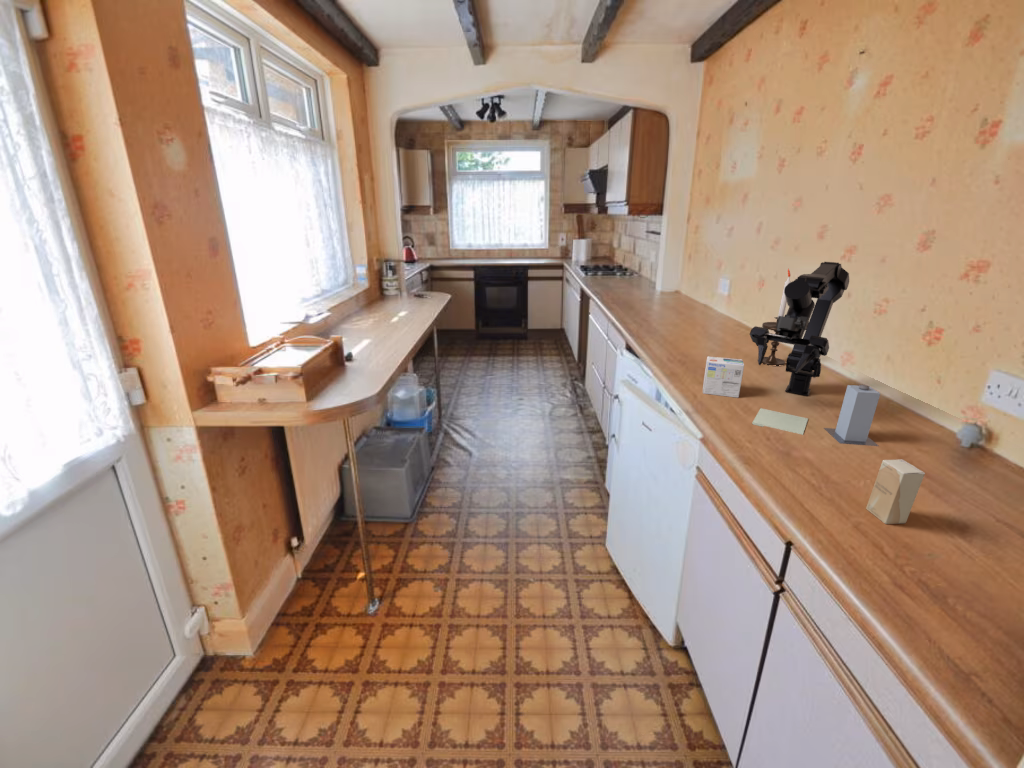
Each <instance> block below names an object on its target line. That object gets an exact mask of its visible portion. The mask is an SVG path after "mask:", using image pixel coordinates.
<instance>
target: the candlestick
mask: <svg viewBox="0 0 1024 768" xmlns="http://www.w3.org/2000/svg"><path fill="white" fill-rule="evenodd" d="M790 279H791V272H790V269H789V268H788V269H787V279H786V281H784V286H783V290H782V296H781V300H780V304H779V309H778V313H777V317H774V319H775V320H776V322H775V321H766V322H762V325H761V327H763V328H768V330H770V331H773V332H774V334H777V335H778V334H779V332H777V328H775V327H776V324H777V320H778V317H779V316H783V317H784V316H785V313H786V308H787V301H786V297H785V293H784V289H785V287H786V286H787V285H788V284H789V283H791V282H792V281H791V280H790ZM770 345H771V346H772V347H771V348H770V349H769V350H770V352H771V353H770V355H769V356H764V359H763V361H762V363H763V364H762V363H761V364H762V365H765V364H767V365H766V366H769V365H776V366H775V367H780V366H779V365H784V364H785V365H786V361H785V360H784V359H781V358H779V357H778V358H777V357H776V352H777V351H778V349H777V348H778V346H780V342H776V341H771V342H770ZM785 365H784V366H785Z"/></svg>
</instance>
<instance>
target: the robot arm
mask: <svg viewBox="0 0 1024 768" xmlns="http://www.w3.org/2000/svg"><path fill="white" fill-rule="evenodd" d="M849 284H850V273H849V272H848V271H846V270H845V269H844V268H843V266H842V263H839V262H834V261H824V262H821V263H820V265H819V266H818V267H817V268H816V269H815V270H814V271H812V272H811V273H804V274H800V275H799V276H797V278H795V279H794V280H792V281H791V283H789V284H788V285H787V286H786V287H785V289H784V288H783V289H784V293H785V297H786V301H787V303H786V305H787V306H788V309H787V312H786V314H784V317H783V316H779V317H778V316H777V317H778V320H777V319H776V322H777V324H776V327H775V328H777V332H779V334H778V335H777V334H775V333H773V332H772V333H771V332H770V331H769V329H768V328H763V327H762V326H757V325H755V326H754V327H752V328H751V330H750V331H749V336H750V338H751V341H752V342H753V343H755V346H757V349H758V359H757V362H758V363H757V364H758V365H759V366H761V365H762V361H763V359H764V357H766V356H765V355H766V353H767V350H768V347H769V345H768V344H769V342H770V341H771V342H773V341H776V342H779V343H783V344H788V345H793V347H792V350H791V352H789V353H788V355H787V357H786V361H785V372H786V373H791V374H790V378H789V383H788V385H787V386H786V388H785V392H786V393H791V394H794V395H800V396H806V397H808V396H810V393H811V388H810V386H811V382H812V378H813V379H815V378H819V377H821V372H822V362H821V356H827V355H828V352H829V349H830V343H829V340H828V338H827V337H823V336H822V334H823V332H824V329H825V327H826V324H827V321H828V318H829V316H830V313H831V310H832V307H833V304H834V303H836V302H837V301H838V300H839V299H841V298H842V297H843V295H844V292H845V291H847V289H848V287H849ZM813 299H817V300H816V302H815V300H813Z"/></svg>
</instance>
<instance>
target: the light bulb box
mask: <svg viewBox="0 0 1024 768" xmlns="http://www.w3.org/2000/svg"><path fill="white" fill-rule="evenodd" d="M744 368H745V363H744V361H743V359H739V358H729V357H720V356H719V357H717V356H716V357H715V356H708V355H707V357H706V362H705V370H704V376H703V383H702V384H703V385H702V394H703V395H704V394H706V395H712V396H721V397H730V398H740V393H741V385H742V380H743V375H744Z"/></svg>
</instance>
